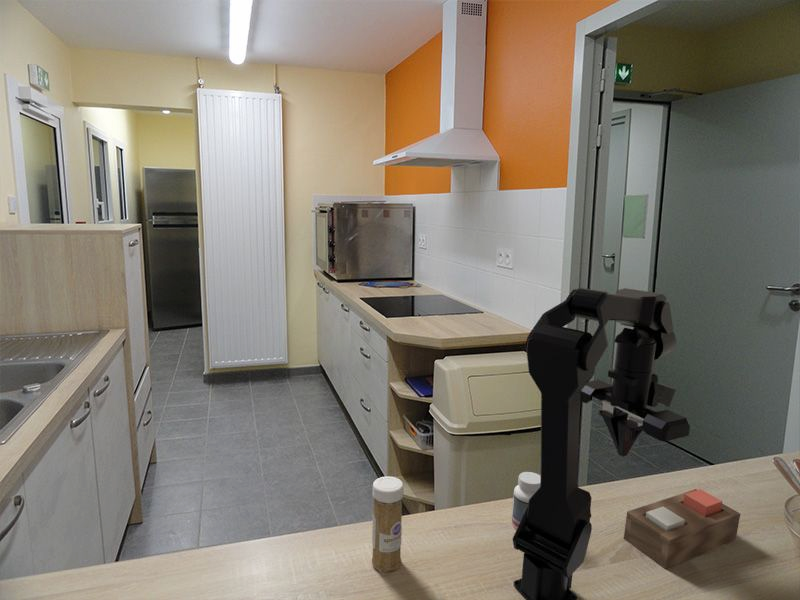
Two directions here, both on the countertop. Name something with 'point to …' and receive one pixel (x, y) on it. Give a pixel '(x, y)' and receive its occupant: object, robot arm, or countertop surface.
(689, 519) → the socket block
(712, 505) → the red plug
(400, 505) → the sprinkles bottle
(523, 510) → the pill bottle
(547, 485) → the robot arm
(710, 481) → the countertop surface
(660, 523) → the grey plug
